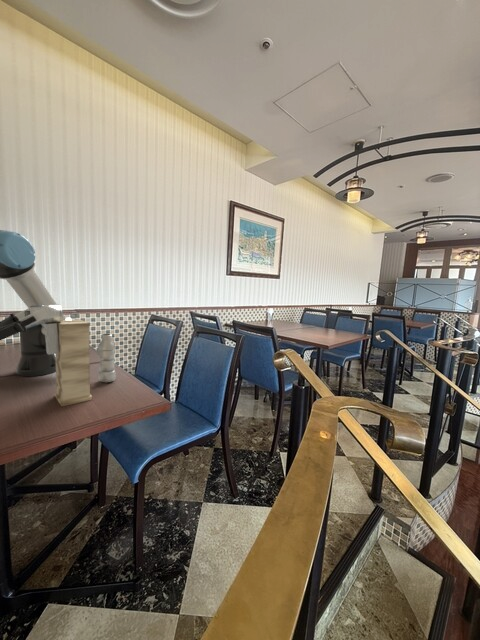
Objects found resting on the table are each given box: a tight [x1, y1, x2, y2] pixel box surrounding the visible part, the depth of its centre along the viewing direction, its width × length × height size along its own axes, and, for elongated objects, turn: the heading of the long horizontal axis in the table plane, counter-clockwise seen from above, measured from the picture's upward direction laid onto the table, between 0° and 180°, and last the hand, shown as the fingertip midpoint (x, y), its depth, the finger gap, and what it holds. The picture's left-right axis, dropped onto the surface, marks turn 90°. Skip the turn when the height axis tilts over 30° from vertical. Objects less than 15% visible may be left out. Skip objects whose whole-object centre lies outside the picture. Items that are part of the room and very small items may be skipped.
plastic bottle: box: [97, 333, 117, 383], centre depth 109 cm, size 6×7×20 cm
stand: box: [54, 319, 93, 407], centre depth 91 cm, size 11×9×27 cm
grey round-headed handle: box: [23, 303, 64, 355], centre depth 85 cm, size 6×16×9 cm
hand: (42, 309), depth 84 cm, fingers open, 13 cm apart
